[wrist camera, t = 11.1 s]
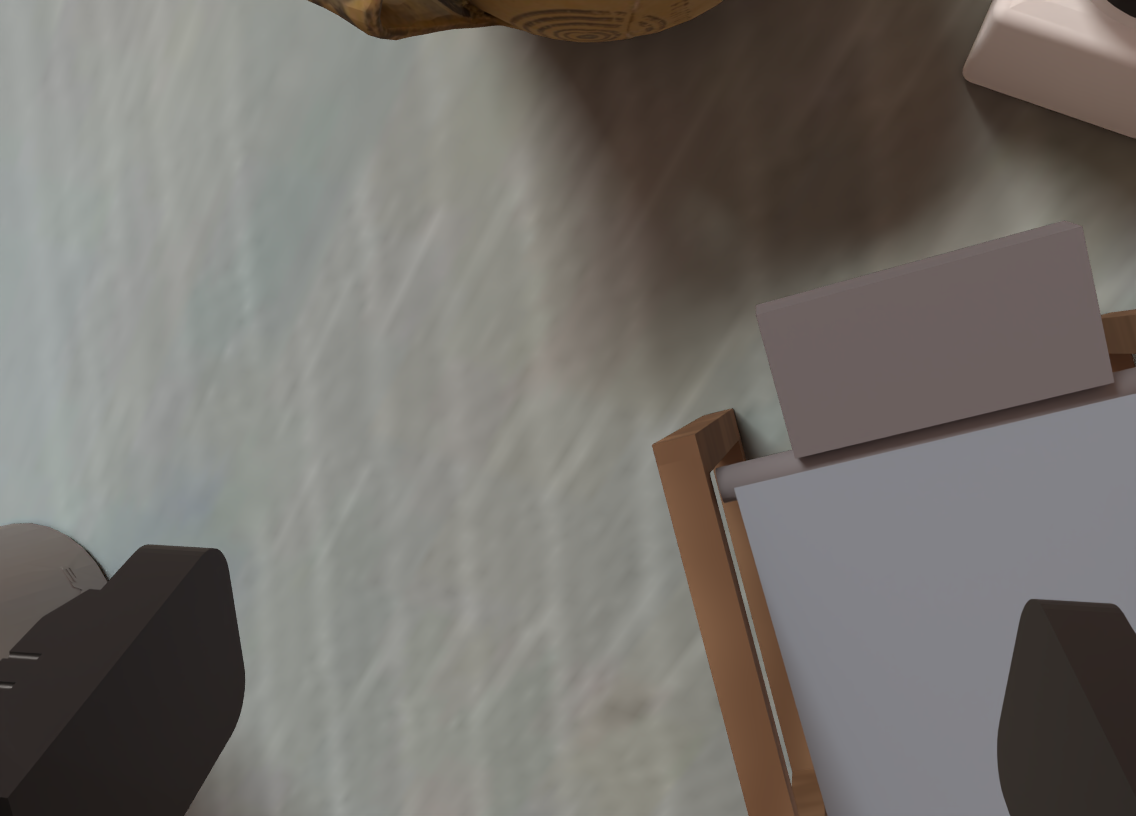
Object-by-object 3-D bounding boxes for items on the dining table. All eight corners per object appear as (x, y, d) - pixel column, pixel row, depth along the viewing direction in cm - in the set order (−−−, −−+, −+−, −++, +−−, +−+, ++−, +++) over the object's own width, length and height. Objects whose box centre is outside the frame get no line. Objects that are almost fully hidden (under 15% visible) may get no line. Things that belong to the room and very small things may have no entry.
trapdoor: (825, 837, 33) (828, 872, 31) (677, 326, 30) (673, 337, 28) (1266, 769, 30) (1293, 803, 29) (1156, 195, 27) (1180, 199, 25)
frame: (800, 790, 42) (794, 988, 29) (702, 415, 42) (652, 444, 29) (1219, 720, 39) (1425, 909, 26) (1111, 312, 39) (1261, 293, 26)
